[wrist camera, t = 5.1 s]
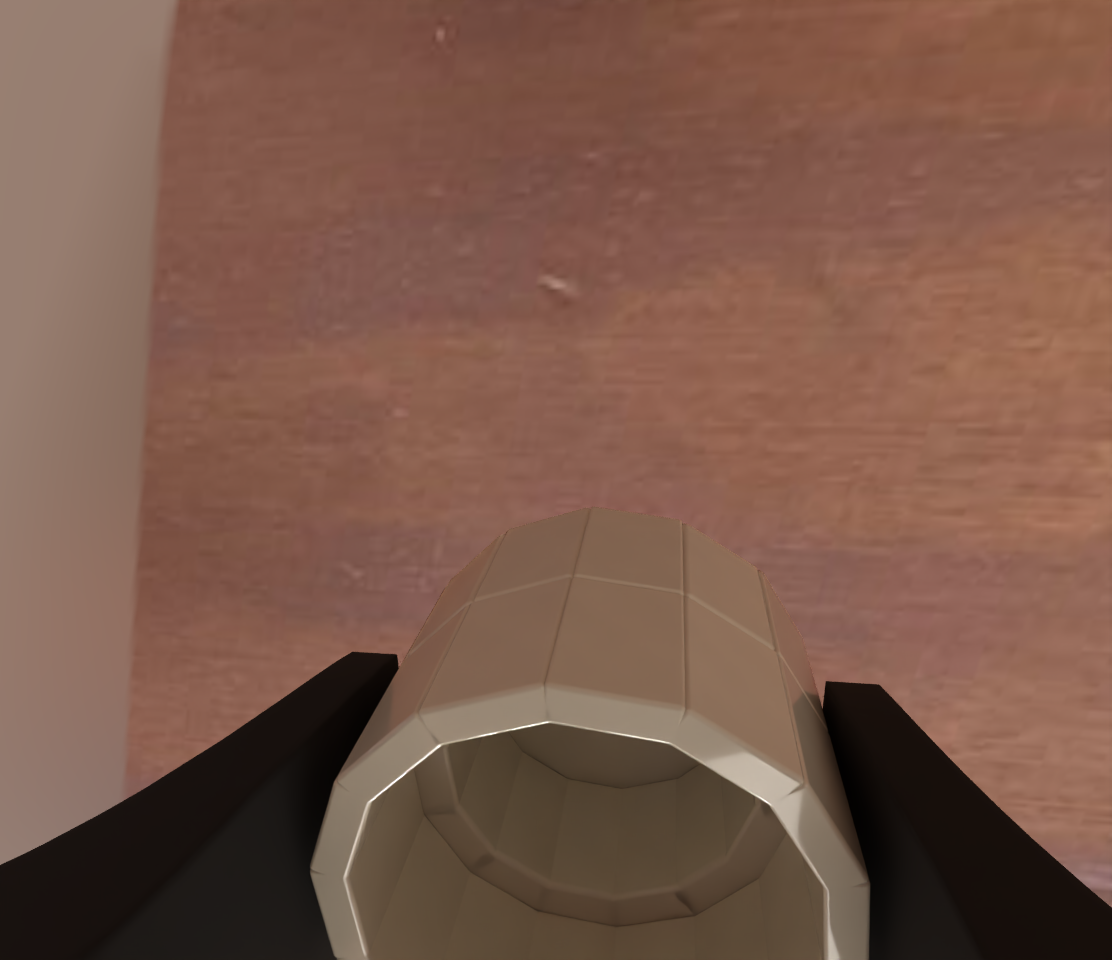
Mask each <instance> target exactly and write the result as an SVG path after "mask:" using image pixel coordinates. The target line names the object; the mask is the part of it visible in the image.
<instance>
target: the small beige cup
mask: <svg viewBox="0 0 1112 960" xmlns="http://www.w3.org/2000/svg"><path fill="white" fill-rule="evenodd" d="M310 876H311V879H312V882H313V886H314V889H315V893H316V896H317V899H318V903H319V906H320V910H321V913H322V917H323V920H324V923H325V927H326V930H327V934H328V937H329V940H330V944H331V947H332V951H333V954H334V956H335V957H336V958H337V960H870V900H871V883H870V879H869V876H868V872H867V868H866V865H865V861H864V858H863V854H862V850H861V847H860V843H859V839H858V836H857V832H856V829H855V825H854V821H853V818H852V814H851V810H850V807H849V803H848V799H847V796H846V792H845V789H844V785H843V781H842V778H841V774H840V770H839V767H838V763H837V760H836V756H835V752H834V749H833V745H832V742H831V738H830V735H829V733H828V728H827V724H826V720H825V717H824V713H823V709H822V706H821V702H820V699H819V695H818V691H817V688H816V684H815V680H814V677H813V673H812V669H811V666H810V662H809V659H808V655H807V651H806V648H805V644H804V640H803V638H802V636H801V634H800V633H799V631H798V629H797V628H796V626H795V624H794V623H793V621H792V619H791V618H790V616H789V614H788V613H787V611H786V609H785V608H784V606H783V604H782V603H781V601H780V599H779V598H778V596H777V595H776V593H775V591H774V590H773V588H772V586H771V585H770V583H769V581H768V580H767V578H766V576H765V575H764V573H763V572H762V571H758V570H757V568H756V567H755V566H753V565H752V564H750V563H749V562H747V561H745V560H744V559H742V558H741V557H739V556H738V555H736V554H734V553H733V552H731V551H730V550H728V549H727V548H725V547H723V546H722V545H720V544H719V543H717V542H716V541H714V540H712V539H711V538H709V537H708V536H706V535H705V534H703V533H701V532H700V531H698V530H697V529H695V528H693V527H692V526H690V525H688V524H685V523H684V524H683V523H682V521H681V520H679V519H672V518H666V517H659V516H652V515H646V514H639V513H632V512H626V511H619V510H612V509H606V508H599V507H592V508H591V509H590V508H583V509H579V510H576V511H572V512H569V513H565V514H562V515H558V516H554V517H551V518H547V519H544V520H540V521H536V522H533V523H529V524H526V525H522V526H519V527H515V528H511V529H509V530H508V531H507V532H506V534H503V535H500V536H499V537H497V538H496V539H495V540H494V541H493V542H492V543H491V544H490V545H489V546H488V547H486V548H485V549H484V550H483V551H482V552H481V553H480V554H479V555H478V556H477V557H475V558H474V559H473V560H472V561H471V562H470V563H469V564H468V565H467V566H466V567H465V568H463V569H462V570H461V571H460V572H459V573H458V574H457V575H456V576H455V577H454V578H452V579H451V580H450V582H449V584H448V585H447V586H446V587H445V588H444V590H443V592H442V594H441V595H440V597H439V599H438V601H437V602H436V604H435V606H434V608H433V609H432V611H431V613H430V615H429V617H428V618H427V620H426V622H425V624H424V625H423V627H422V629H421V631H420V632H419V634H418V636H417V638H416V639H415V641H414V643H413V645H412V646H411V648H410V650H409V652H408V653H407V655H406V657H405V659H404V660H403V662H402V664H401V666H400V667H399V668H398V670H397V672H396V674H395V675H394V677H393V679H392V681H391V682H390V684H389V686H388V688H387V689H386V691H385V693H384V695H383V697H382V698H381V700H380V702H379V704H378V705H377V707H376V709H375V711H374V712H373V714H372V716H371V718H370V719H369V721H368V723H367V725H366V726H365V728H364V730H363V732H362V733H361V735H360V737H359V739H358V740H357V742H356V744H355V746H354V747H353V749H352V751H351V753H350V754H349V756H348V758H347V760H346V761H345V763H344V765H343V767H342V768H341V770H340V772H339V774H338V775H337V777H336V779H335V781H334V783H333V786H332V789H331V793H330V796H329V800H328V803H327V807H326V810H325V813H324V817H323V820H322V824H321V827H320V831H319V834H318V838H317V841H316V844H315V848H314V851H313V855H312V858H311V862H310Z"/></svg>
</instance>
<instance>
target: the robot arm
mask: <svg viewBox="0 0 1112 960" xmlns="http://www.w3.org/2000/svg"><path fill="white" fill-rule="evenodd" d="M397 670H398V658H397V655H396V654H380V653H364V652H351V653H350V654H348V655H346V656H345V657H343V658H341V659H340V660H338V661H337V662H335V663H334V664H332V665H331V666H329V667H328V668H326V669H325V670H323V671H322V672H320V673H319V674H317V675H316V676H314V677H313V678H312V679H310V680H309V681H307V682H306V683H304V684H303V685H301V686H300V687H299V688H297V689H296V690H294V691H293V692H291V693H290V694H289V695H287V696H286V697H284V698H283V699H281V700H280V701H278V702H277V703H276V704H274V705H273V706H271V707H270V708H268V709H267V710H265V711H264V712H262V713H261V714H259V715H258V716H257V717H255V718H254V719H252V720H251V721H249V722H248V723H246V724H245V725H243V726H242V727H240V728H239V729H237V730H236V731H235V732H233V733H232V734H230V735H229V736H227V737H226V738H224V739H223V740H221V741H220V742H218V743H216V744H215V745H213V746H212V747H210V748H208V749H207V750H205V751H204V752H202V753H201V754H199V755H197V756H196V757H194V758H193V759H191V760H189V761H188V762H186V763H185V764H183V765H181V766H180V767H178V768H177V769H175V770H173V771H172V772H170V773H169V774H167V775H165V776H164V777H162V778H161V779H159V780H158V781H156V782H154V783H153V784H151V785H150V786H148V787H146V788H145V789H143V790H141V791H140V792H138V793H136V794H135V795H133V796H131V797H129V798H128V799H126V800H124V801H123V802H121V803H119V804H117V805H115V806H114V807H112V808H110V809H108V810H107V811H105V812H103V813H101V814H100V815H98V816H96V817H94V818H92V819H90V820H88V821H86V822H85V823H83V824H81V825H79V826H77V827H75V828H73V829H71V830H70V831H68V832H66V833H64V834H62V835H60V836H58V837H56V838H54V839H53V840H51V841H49V842H47V843H45V844H43V845H41V846H39V847H37V848H35V849H33V850H31V851H29V852H27V853H25V854H23V855H21V856H19V857H17V858H14V859H12V860H10V861H8V862H6V863H4V864H1V865H0V960H337V958H336V957H335V956H334V954H333V951H332V947H331V944H330V940H329V937H328V934H327V930H326V927H325V923H324V920H323V917H322V913H321V910H320V906H319V903H318V899H317V896H316V893H315V889H314V886H313V882H312V879H311V876H310V862H311V858H312V855H313V851H314V848H315V844H316V841H317V838H318V834H319V831H320V827H321V824H322V820H323V817H324V813H325V810H326V807H327V803H328V800H329V796H330V793H331V789H332V786H333V783H334V781H335V779H336V777H337V775H338V774H339V772H340V770H341V768H342V767H343V765H344V763H345V761H346V760H347V758H348V756H349V754H350V753H351V751H352V749H353V747H354V746H355V744H356V742H357V740H358V739H359V737H360V735H361V733H362V732H363V730H364V728H365V726H366V725H367V723H368V721H369V719H370V718H371V716H372V714H373V712H374V711H375V709H376V707H377V705H378V704H379V702H380V700H381V698H382V697H383V695H384V693H385V691H386V689H387V688H388V686H389V684H390V682H391V681H392V679H393V677H394V675H395V674H396V672H397ZM823 713H824V717H825V720H826V724H827V728H828V733H829V735H830V738H831V742H832V745H833V749H834V752H835V756H836V760H837V763H838V767H839V770H840V774H841V778H842V781H843V785H844V789H845V792H846V796H847V799H848V803H849V807H850V810H851V814H852V818H853V821H854V825H855V829H856V832H857V836H858V839H859V843H860V847H861V850H862V854H863V858H864V861H865V865H866V868H867V872H868V876H869V879H870V883H871V900H870V960H1112V907H1110V906H1109V905H1108V904H1107V903H1106V902H1104V901H1103V900H1102V899H1101V898H1100V897H1098V896H1097V895H1096V894H1095V893H1093V892H1092V891H1091V890H1090V889H1089V888H1088V887H1086V886H1085V885H1084V884H1083V883H1082V882H1081V881H1080V880H1078V879H1077V878H1076V877H1075V876H1074V875H1073V874H1072V873H1071V872H1069V871H1068V870H1067V869H1066V868H1065V867H1064V866H1063V865H1061V864H1060V863H1059V862H1058V861H1057V860H1056V859H1055V858H1054V857H1052V856H1051V855H1050V854H1049V853H1048V852H1047V851H1046V850H1045V849H1043V848H1042V847H1041V846H1040V845H1039V844H1038V843H1037V842H1035V841H1034V840H1033V839H1032V838H1031V837H1030V836H1029V835H1028V834H1027V833H1026V832H1025V831H1024V830H1022V829H1021V828H1020V827H1019V826H1018V825H1017V824H1016V823H1015V822H1014V821H1013V820H1012V819H1011V818H1010V817H1009V816H1007V815H1006V814H1005V813H1004V812H1003V811H1002V810H1001V809H1000V808H999V807H998V806H997V805H996V804H995V803H994V802H993V801H992V800H991V799H990V798H989V797H988V796H987V795H986V794H985V793H984V792H983V791H982V790H981V789H980V788H979V787H978V786H977V785H976V784H974V783H973V782H972V781H971V780H970V779H969V778H968V777H967V776H966V775H965V774H964V773H963V772H962V771H961V770H960V768H959V767H958V766H957V765H956V764H955V763H954V762H953V761H952V760H951V759H950V758H949V757H948V756H947V755H946V754H945V753H944V752H943V751H942V750H941V749H940V748H939V747H938V746H937V745H936V744H935V743H934V742H933V741H932V740H931V739H930V738H929V737H928V735H927V734H926V733H925V732H924V731H923V730H922V729H921V728H920V727H919V726H918V725H917V724H916V723H915V722H914V721H913V720H912V719H911V717H910V716H909V715H908V714H907V713H906V712H905V711H904V710H903V709H902V708H901V707H900V706H899V705H898V704H897V703H896V702H895V701H894V699H893V698H892V697H891V696H890V695H889V694H888V693H887V692H886V691H885V690H884V689H883V688H882V687H881V686H880V685H877V684H861V683H845V682H829V681H826V685H825V693H824V702H823Z"/></svg>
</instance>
